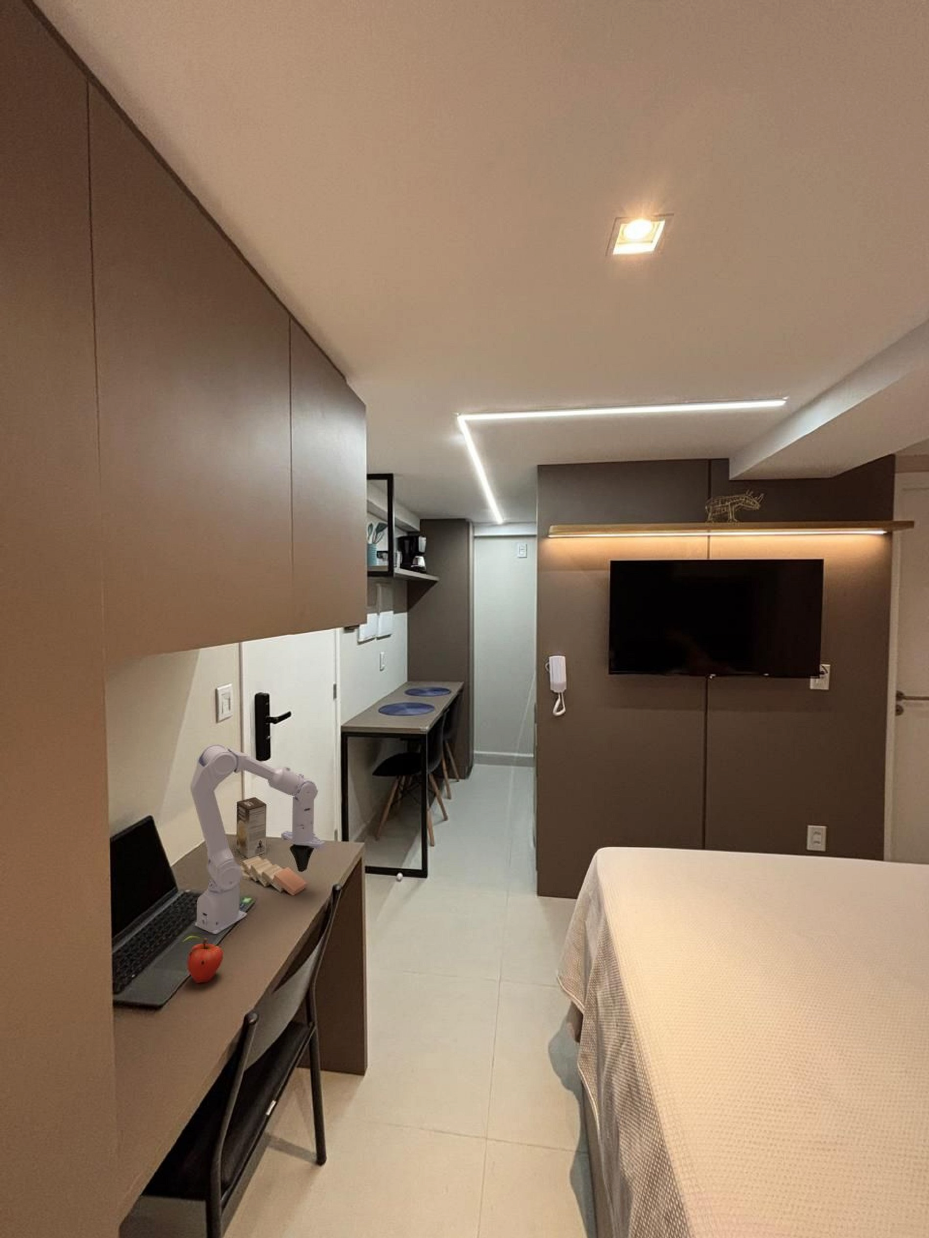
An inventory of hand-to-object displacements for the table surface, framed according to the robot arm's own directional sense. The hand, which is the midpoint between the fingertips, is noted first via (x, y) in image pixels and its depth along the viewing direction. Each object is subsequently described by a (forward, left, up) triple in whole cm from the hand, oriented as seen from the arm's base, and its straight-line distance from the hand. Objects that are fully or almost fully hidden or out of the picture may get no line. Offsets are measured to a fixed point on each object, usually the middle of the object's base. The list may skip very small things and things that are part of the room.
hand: (302, 870), depth 150 cm
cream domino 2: (0, +16, -6) cm, 16 cm away
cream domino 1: (0, +19, -6) cm, 20 cm away
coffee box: (+11, +33, -7) cm, 36 cm away
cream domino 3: (0, +11, -6) cm, 12 cm away
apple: (-36, -7, -7) cm, 37 cm away
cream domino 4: (0, +6, -6) cm, 8 cm away
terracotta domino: (0, +1, -6) cm, 6 cm away
